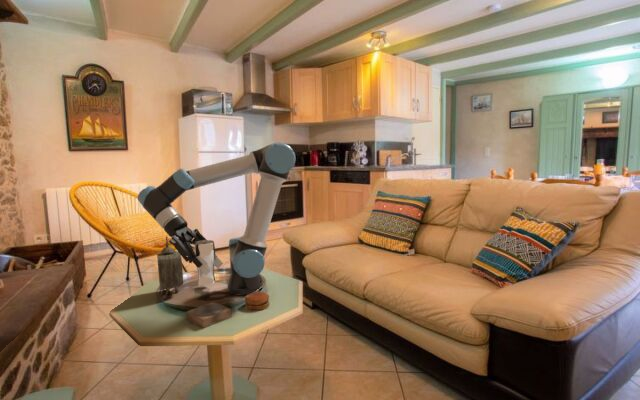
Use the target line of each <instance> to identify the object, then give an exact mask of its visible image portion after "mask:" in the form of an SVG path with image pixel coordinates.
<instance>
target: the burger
mask: <svg viewBox="0 0 640 400" xmlns="http://www.w3.org/2000/svg"><path fill="white" fill-rule="evenodd" d="M269 299H270V295H269V294H268V293H267V292H263V291H258V292H254V293H251V294H247V295H245V297H244V301H245V306H244V307H245V309H247V310H249V311H251V310H252V311H253V310H254V311H255V310H256V311H259V310H264V309H266V308H268V307H270V301H269Z"/></svg>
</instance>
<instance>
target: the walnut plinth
mask: <svg viewBox="0 0 640 400" xmlns="http://www.w3.org/2000/svg"><path fill="white" fill-rule="evenodd" d="M186 318H187V320H188V321H190V322H191V323H194V324H195V325H197V326H199V327H200V328H201V329H205V328H206V329H207V328H208V327H211V326H213V325H215V324H218V323H221V322H222V321H223V322H224V321H225V320H228V319H230V318H232V309H231V308H229V307H226V306H225V305H223V304H220V303H218V302H215V301H213V302H210V303H207V304H204V305H200V306H198V307H195V308H193V309H189V310H187V311H186Z"/></svg>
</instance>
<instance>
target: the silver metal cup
mask: <svg viewBox="0 0 640 400" xmlns="http://www.w3.org/2000/svg"><path fill="white" fill-rule="evenodd" d="M194 244H195V245H194V248H193V250H194V252H195V254H196V256H197V257H198V256H199V257H200V258H201V259H202V260H203V261H204V262H205V263H206V264H207V265H208V267H209V268H210V269H211V271H210V272H209V273H208V274H207V275H205V274H204V273H203V272H202V271H201V270H200V269H199V268H198V267H197V266H196V269H197V273H198V280H197V285H198V286H199V287H210V286H213V285H215V284H216V282H217V280H216V277H215V267H216V266H215V255H216V247H215V240H211V239H207V240H202V241H197V242H195V243H194ZM197 257H196V258H197Z"/></svg>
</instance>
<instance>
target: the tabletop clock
mask: <svg viewBox="0 0 640 400" xmlns="http://www.w3.org/2000/svg"><path fill="white" fill-rule="evenodd" d="M165 242H166V243H165V247H163V248H162V250H161V252H157V253H156V256H157V257H156V259H157V269H158V271H157V272H158V280H159V290H160V291H164V289H166V290H165V294H163V297H164V298H166V299H168V296H169V295H168V293H169V291H170V290H171V289H174V292H175V293H176V294H178V293H179V291H180V289H178V288H180V287H181V286H183V285H184V275H183V274H184V273H183V261H182V259H183V258H182V256H181V255H180V253H179V252H178V251H177V250H175V249H174V248H173V246H172V247H171V246H170V245H169V239H168V236H165ZM163 297H162V298H163ZM164 298H163V299H164Z"/></svg>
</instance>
